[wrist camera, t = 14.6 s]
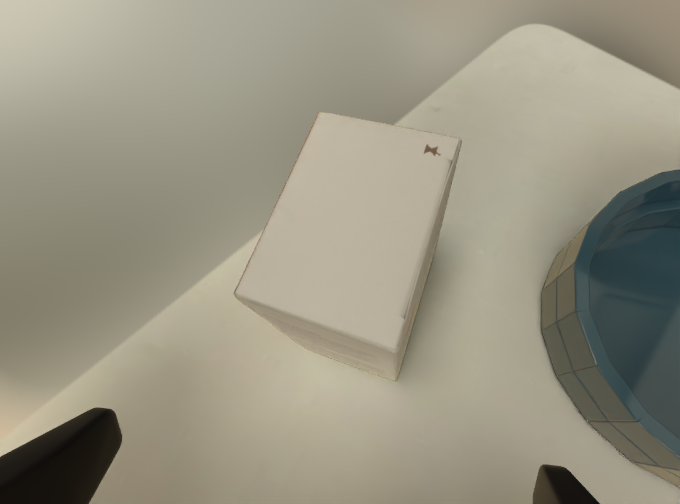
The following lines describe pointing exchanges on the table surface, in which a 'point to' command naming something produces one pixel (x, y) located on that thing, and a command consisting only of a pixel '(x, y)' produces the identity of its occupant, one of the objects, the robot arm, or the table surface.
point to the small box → (353, 240)
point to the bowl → (623, 323)
